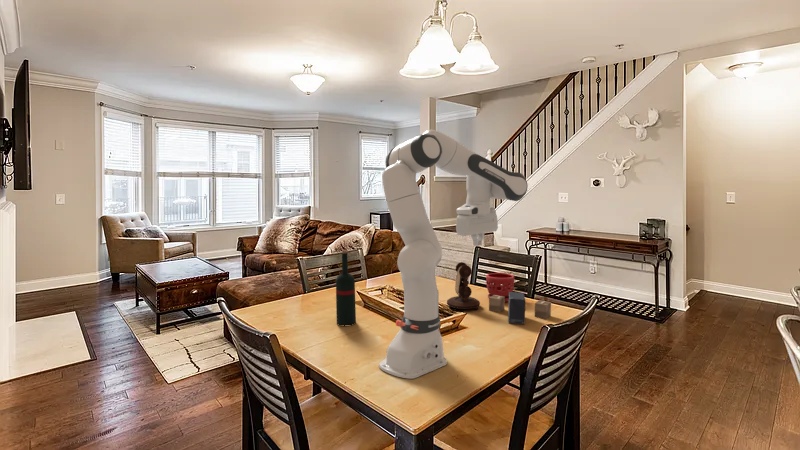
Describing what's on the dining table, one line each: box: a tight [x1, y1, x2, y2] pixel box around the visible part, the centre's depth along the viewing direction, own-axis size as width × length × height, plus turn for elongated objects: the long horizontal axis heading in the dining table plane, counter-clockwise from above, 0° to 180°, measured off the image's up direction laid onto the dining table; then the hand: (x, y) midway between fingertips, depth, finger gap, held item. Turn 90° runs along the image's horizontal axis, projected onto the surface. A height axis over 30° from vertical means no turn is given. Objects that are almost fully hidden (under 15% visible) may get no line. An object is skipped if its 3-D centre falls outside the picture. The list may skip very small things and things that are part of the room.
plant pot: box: [485, 272, 515, 303], centre depth 199 cm, size 13×13×12 cm
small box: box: [507, 291, 526, 325], centre depth 170 cm, size 11×6×10 cm, turn 167°
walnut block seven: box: [488, 295, 506, 313], centre depth 183 cm, size 5×5×6 cm
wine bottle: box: [335, 249, 357, 327], centre depth 168 cm, size 8×10×30 cm
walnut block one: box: [534, 299, 552, 320], centre depth 174 cm, size 5×5×6 cm
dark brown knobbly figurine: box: [446, 261, 481, 311], centre depth 187 cm, size 15×15×20 cm
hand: (477, 245), depth 155 cm, fingers closed
